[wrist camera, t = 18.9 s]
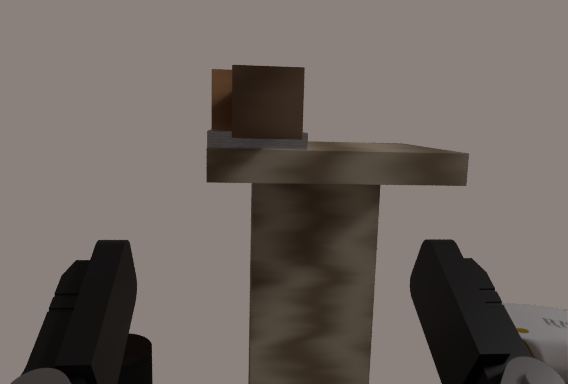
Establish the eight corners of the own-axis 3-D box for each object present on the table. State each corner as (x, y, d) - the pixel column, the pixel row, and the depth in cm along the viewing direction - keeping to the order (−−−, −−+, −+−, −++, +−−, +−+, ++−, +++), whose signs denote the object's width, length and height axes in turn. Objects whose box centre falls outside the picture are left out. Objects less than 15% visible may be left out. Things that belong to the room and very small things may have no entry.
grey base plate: (207, 147, 28) (207, 130, 28) (216, 139, 39) (216, 127, 39) (307, 149, 28) (307, 133, 28) (288, 141, 39) (288, 129, 39)
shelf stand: (206, 615, 32) (206, 148, 27) (214, 482, 44) (216, 139, 39) (430, 598, 34) (468, 153, 29) (381, 474, 46) (402, 143, 41)
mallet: (190, 137, 18) (189, 30, 18) (215, 127, 37) (215, 75, 36) (341, 140, 19) (346, 37, 18) (291, 129, 38) (292, 78, 37)
